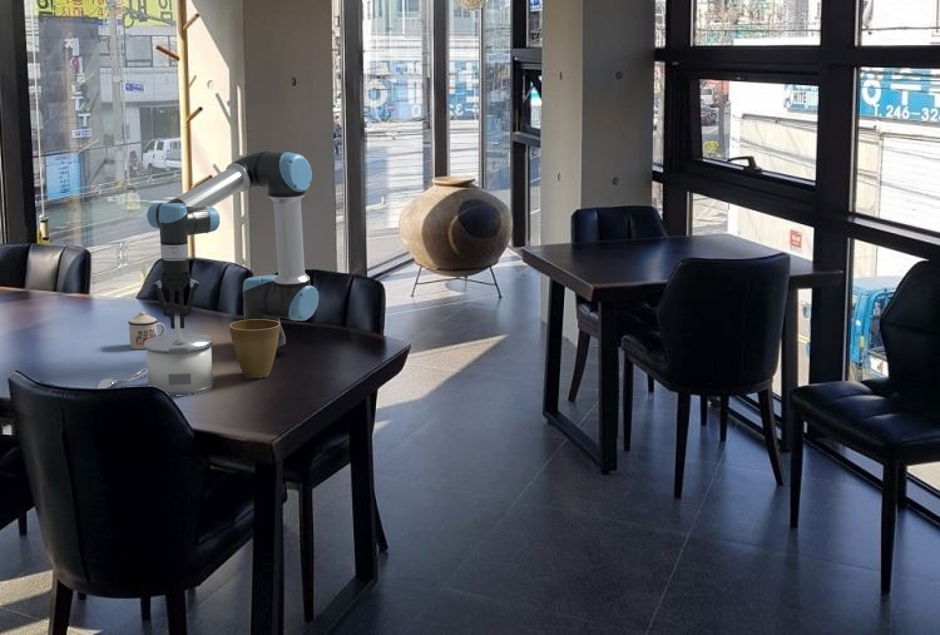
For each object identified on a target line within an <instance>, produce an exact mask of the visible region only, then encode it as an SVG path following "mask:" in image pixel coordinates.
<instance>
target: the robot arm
mask: <svg viewBox="0 0 940 635" xmlns="http://www.w3.org/2000/svg"><path fill="white" fill-rule="evenodd" d="M312 179H313V172H312V167H311V165H310V162H309V161H308V160H307V159H306V158H305V156H304V155H302V154H299V153H293V152H290V151H288V152H286V151H269V150H260V151H256V152H252V153H249V154H247V155H245V156H243V157H240V158H239V159H236V160H235V161H233V162H231V163H229V164H228V165H227V167H226V168H225V170H224V171H222V172H220V173H218V174H216V175H214V176H213V177H211V178H209V179H208V180H205V181H204V182H202V183H200V184H199V185H196V186H195V187H193V188H191V189H189V190H187V191H186V192H184V193H182V194H180V195H179V196H177V197H174V198H173V199H171V200H169V201H167V202H164V203H163V202H158V203H157V202H155V203H152V204H151V205H150V206H149V208H148V209H147V211H146V217H147V221H148V224H149V225H150V226H151V227H152V228H155V229H159V236H160V238H159V239H160V257H161V258H162V259H161V261H160V263H161V264H160V265H161V266H160V267H161V275H160V278H159V280H157V281H156V282H153V283H152V288H153V289H154V290H155V292H156V294H157V297H158V301H159V304H160V307H161V311H162V314H163V316H164V317H167V318H169V320H170V328H171V329H173V330H174V334H175V341H180V340H181V333H182V332H181V329H185V317H188V316H191V312H192V308H193V303H194V299H195V298H194V297H195V293H196V290H197V289H198V288H199V281H197V280H194V279H193V278H192V276H191V274H190V266H189V265H190V264H189V261H190V260H189V259H188V257H189V237H190V236H194V235H200V234H201V235H202V234H208V233H212V232H215V231H217V230H218V228H219V226H220V223H221V222H220V221H221V219H220V213H219V212H218V210H216V208H214V206H215V205H217V204H219V203H220V202H222V201H224V200H226V199H227V198H229V197H231V196H233V195H235V194H236V193H239V192H240V193H242V192H243V193H244V192H246V191H248V190H250V189H255V188H256V189H257V188H263V189H267V196H268V198H270V200H272V202H273V213H274V214H273V215H274V230H275V233H274V234H275V244H276V259H277V261H276V262H277V263H276V264H277V274H266V275H265V274H264V275H257V276H252V277H248V278H246V279H244V281H243V283H242V284H243V285H242V298H243V299H242V300H243V301H242V304H243V320H251V319H265V320H273V321H277V322H279V323H280V330H279V338H278V344H277V349H278V348H281V346H282V347H283V345H284V344H285V345H286V334H285V333H284V332H285V331H284V329H283V327H282V325H281V320H280V318H281V319H287V320H291V321H300V322H301V321H302V322H303V321H307V320H308V319H310V318H312V316H313V315H314V314H315V312H316V311H317V309H318V306H319V298H320V297H319V292H318V290H317V288H316V287H314V286H313V285H311V278H310V276H309V275H308V274H307V273H306V267H305V252H304V251H305V250H304V234H303V233H304V232H303V219H302V218H303V217H302V216H303V214H302V199H303V198H304V197H305V195H306V190H308V189H309V188H310V186H311V183H312ZM188 285H189V287H190V291H189V296H188V301H187V305H186V310H185V308H184V307H185V304H184V290H185V289H186V288H187V286H188ZM163 286H164V287H165V288H166V290H168V294H169V310H168V308H167V304H166V300H165V297H164V294H163V291H162V290H163V289H162V287H163ZM175 292H178V307H179V308H178V310H179V313H178V314H179V315H178V316H176V315H175V313H176V312H175V310H176V309H175ZM285 345H284V346H285Z"/></svg>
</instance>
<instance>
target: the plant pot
mask: <svg viewBox="0 0 940 635" xmlns="http://www.w3.org/2000/svg"><path fill="white" fill-rule="evenodd" d="M280 324H281V322H280V323H279V322H277V321H273V320H265V319H251V320H244V319H243V320H238V321H233V322H231V323H230V324H229V330H230V331H229V332H230V336H231V341H232V346H233V349H234V353H235V356H236V359H237V362H238V364H239V367H240V370H241V373H242V375H243V377H244V376H245V377H244V378H246V377H248V378H247V379H251V378H258V379H263V377H265V378H267V377H269V376H268V375H270V373H271V371H272V367H273V364H274V360H275V358H276V354H277V353H276V352H277V349H278V348H277V344H278V338H279V330H280Z"/></svg>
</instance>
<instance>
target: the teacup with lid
mask: <svg viewBox="0 0 940 635" xmlns="http://www.w3.org/2000/svg"><path fill="white" fill-rule="evenodd" d="M128 326H129V327H128V329H129V344H130V345H129V346H130V348H131V349H134V350H140V351H141V350H146V349H145V343H144V342H145V340H147V339H149V338H151V337H155V336H160V335H165V333H166V326H165V324H164V323H162V322H158V320H157V318H156V317H154V316H151V315H149V314H146V311H139V312H138V314H137V315H136V316H134V317H132V318H130V319H129V320H128ZM157 326H161V327H162V331H161V332H160V334H159V335H158V331H157V330H158V328H157Z"/></svg>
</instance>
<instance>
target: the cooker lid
mask: <svg viewBox="0 0 940 635" xmlns="http://www.w3.org/2000/svg"><path fill="white" fill-rule="evenodd" d="M159 335H160V334H159ZM144 343H145V349H144V350H146V351H147V350H148V351H151V352H157V353H169V355H172V354H188V352H195V351H200V350H204V349H207V348H209V347H211V348H212V346H214V340H213V337H212V336H210V335H208V334H203V333H195V332H194V333H193V332H192V333H191V332H189V333H187V332H186V333H182V332H181V340H180V341H175V333H168V334H167V333H166V334H164V335H160V336H155V337H151V338H149V339H147V340H145V342H144Z"/></svg>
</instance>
